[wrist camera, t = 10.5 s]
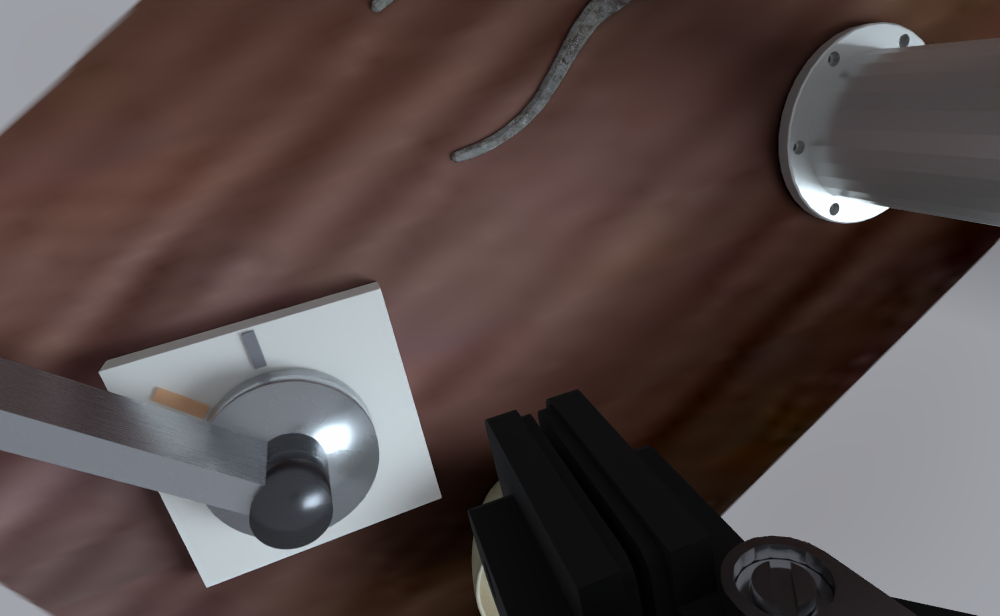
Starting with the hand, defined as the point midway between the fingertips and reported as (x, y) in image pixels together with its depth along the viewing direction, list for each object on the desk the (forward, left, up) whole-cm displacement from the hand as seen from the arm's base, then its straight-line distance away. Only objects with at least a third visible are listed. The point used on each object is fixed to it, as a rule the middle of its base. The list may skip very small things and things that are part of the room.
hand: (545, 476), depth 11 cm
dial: (+11, +7, -23) cm, 27 cm away
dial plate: (+7, +10, -25) cm, 28 cm away
